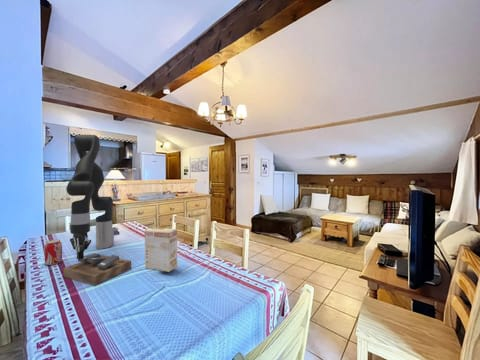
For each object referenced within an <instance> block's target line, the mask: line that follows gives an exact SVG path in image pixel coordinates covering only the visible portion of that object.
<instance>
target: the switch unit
mask: <svg viewBox="0 0 480 360" xmlns="http://www.w3.org/2000/svg"><path fill="white" fill-rule="evenodd" d="M110 256H111V255H110ZM110 256H109V255H105V254H100V257H108V258H109V257H110ZM99 263H101V262H99ZM99 263H90V262H84V263H83V262H77V263H74V264H71V265H69V266H65V267H64V268H63V277H65V278H68V279H71V280H74V281H76V282H80V283H83V284H87V285H91V286H97V285H100V284H102V283H103V282H106V281H108V280H110V279H112V278H115V277H116V276H119V275H121V274H123V273H125V272H127V271H129V270H131V269H132V260H129V259H124V258H120V259H119V260H117V261H116V262H115V263H113V264H112V265H110V266H109V267H107V268H106V269H104V270H103V269H99V268H98V267H97V265H98V264H99Z"/></svg>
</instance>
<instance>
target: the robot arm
mask: <svg viewBox="0 0 480 360" xmlns="http://www.w3.org/2000/svg"><path fill="white" fill-rule="evenodd" d="M73 141H74V143H73V144H74V146H75V149H76V151H77V153H78V156H79V160H78V161H77V163H76V165H75V170H74V174H73V175H72V177H71V179H70V180H69V182H68V183H67V185H66V188H65V189H66V193H67V194H68V195H69V196H71V197H80V196H81V197H82V196H84V197H83V198H82V199H78V200H74V201H73V202H71V205H70V206H71V207H70V208H71V210H70V211H71V215H70V227H69V228H70V230H69V231H70V234H71V235H72V238H69V242H70V245H71V246H72V249H73V250H75V251H76V259H77V260H78V259H79V260H80V259H83V258H84V256H85V251H86V250H88V248H89V247H90V244H92V239H89V238H88V237H89V235H88V233H89V232H91V215H90V211H91V210H90V208H91V207H90V205H91V206H92V209H93V210H94V211H95V212H101V211H104V213H103V214H100V215H98V216H96V218H95V247H96V249H97V250H98V249H99V250H100V249H101V250H102V249H108V248H112V247H113V246H114V245H115V235H114V231H112V228H113V215H114V214H113V212H114V211H113V208H114V207H113V206H114V200H113V197H112V196H100V195H99V191H100V189H101V187H102V186H103V183H104V182H105V176H104V175H105V174H104V171H103V168H101V166H100V165H98V163H96V162H95V161H96V159H97V156H98V153H99V151H100V147H101V142H100V139H99V137H98V136H97V135H95V134H76V135H74V137H73Z"/></svg>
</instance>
